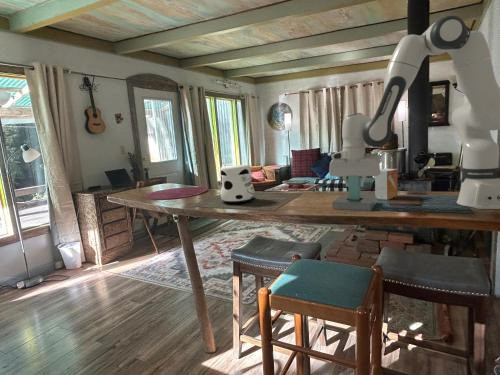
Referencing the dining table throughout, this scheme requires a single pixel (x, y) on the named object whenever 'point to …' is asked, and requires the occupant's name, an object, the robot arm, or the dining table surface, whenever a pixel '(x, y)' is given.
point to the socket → (355, 203)
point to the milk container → (236, 184)
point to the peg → (354, 187)
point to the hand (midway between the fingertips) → (354, 186)
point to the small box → (386, 184)
